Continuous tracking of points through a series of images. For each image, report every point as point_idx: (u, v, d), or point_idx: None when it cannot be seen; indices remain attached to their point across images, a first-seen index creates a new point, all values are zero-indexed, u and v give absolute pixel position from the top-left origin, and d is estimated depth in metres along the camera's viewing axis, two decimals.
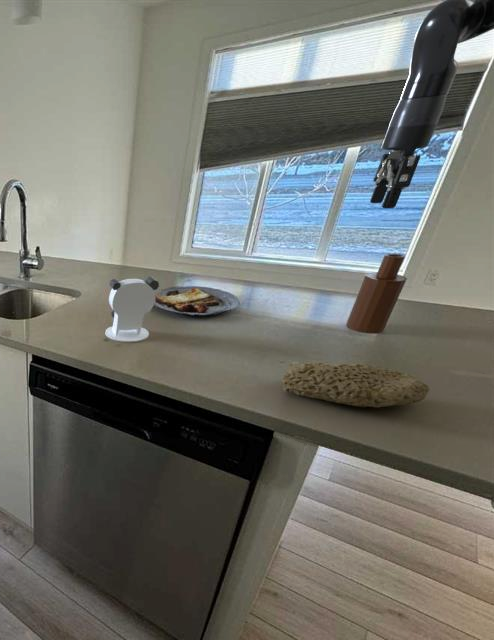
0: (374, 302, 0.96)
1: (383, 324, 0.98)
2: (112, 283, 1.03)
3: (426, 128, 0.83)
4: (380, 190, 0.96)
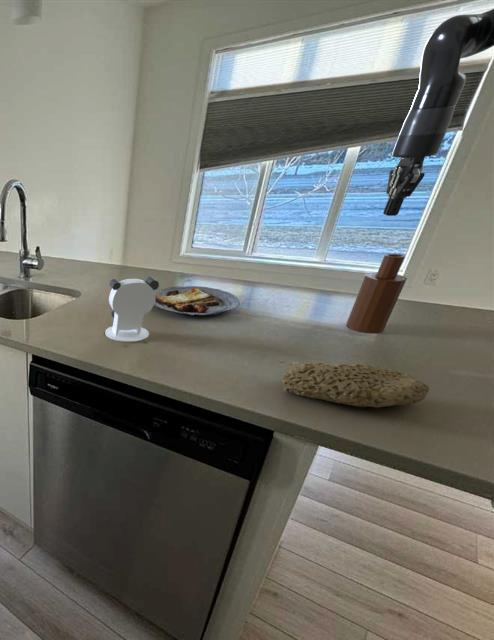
0: (374, 302, 0.96)
1: (383, 324, 0.98)
2: (112, 283, 1.03)
3: (435, 137, 0.87)
4: None
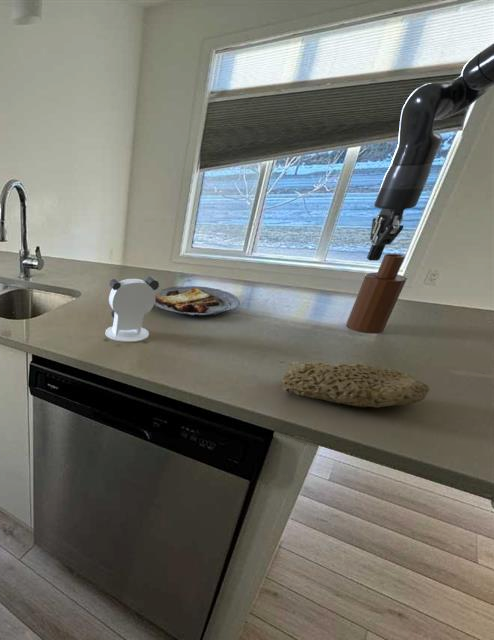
0: (374, 302, 0.96)
1: (383, 324, 0.98)
2: (112, 283, 1.03)
3: (414, 192, 0.92)
4: None
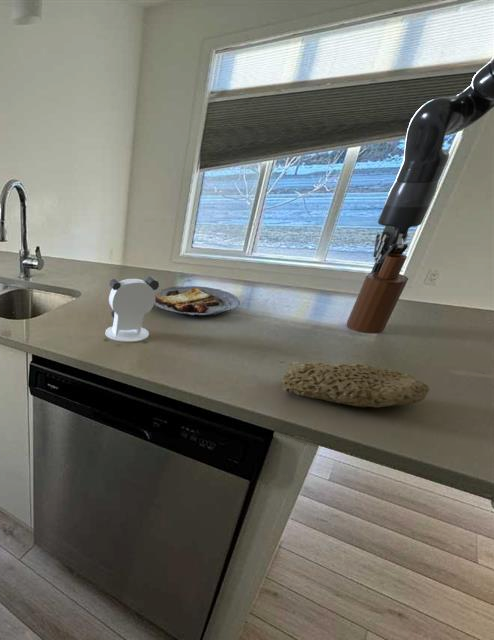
0: (374, 303, 0.96)
1: (383, 324, 0.98)
2: (112, 283, 1.03)
3: (419, 210, 0.89)
4: None
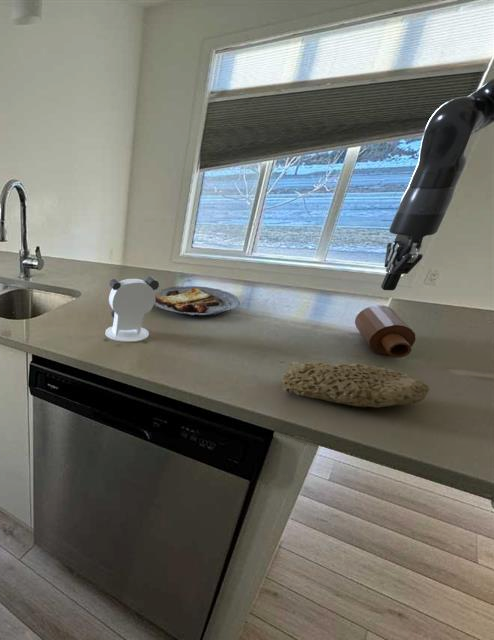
0: None
1: None
2: (112, 283, 1.03)
3: (435, 217, 0.83)
4: None
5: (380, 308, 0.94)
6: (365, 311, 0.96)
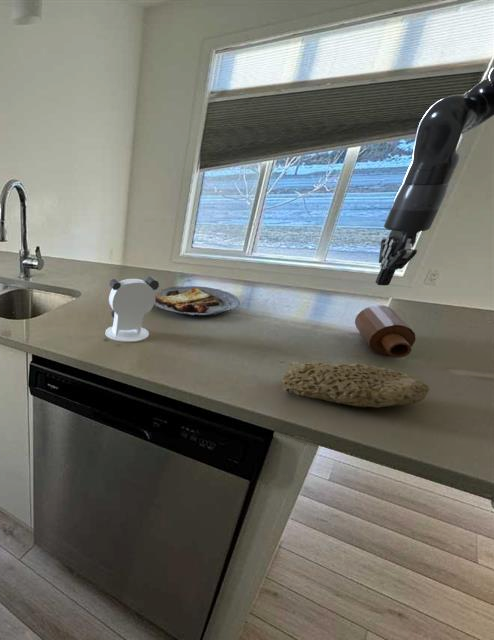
0: None
1: None
2: (112, 283, 1.03)
3: (428, 213, 0.85)
4: None
5: (380, 308, 0.94)
6: (365, 311, 0.96)
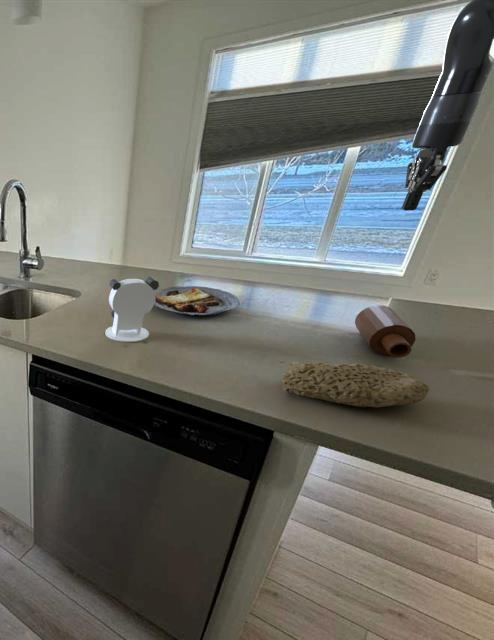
0: None
1: None
2: (112, 283, 1.03)
3: (460, 125, 0.81)
4: None
5: (380, 308, 0.94)
6: (365, 311, 0.96)
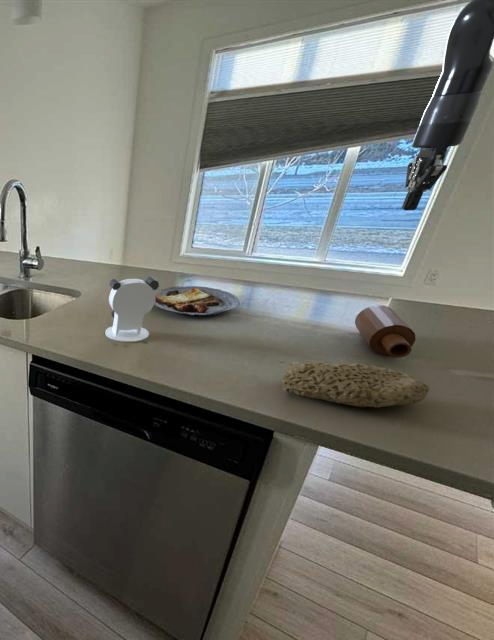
0: None
1: None
2: (112, 283, 1.03)
3: (460, 125, 0.81)
4: None
5: (380, 308, 0.94)
6: (365, 311, 0.96)
